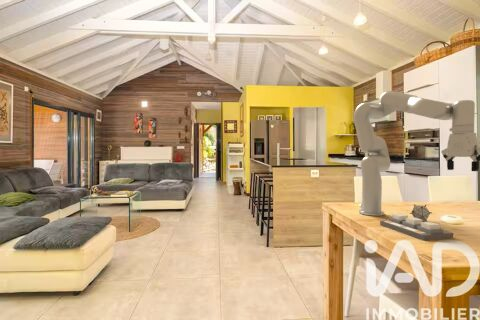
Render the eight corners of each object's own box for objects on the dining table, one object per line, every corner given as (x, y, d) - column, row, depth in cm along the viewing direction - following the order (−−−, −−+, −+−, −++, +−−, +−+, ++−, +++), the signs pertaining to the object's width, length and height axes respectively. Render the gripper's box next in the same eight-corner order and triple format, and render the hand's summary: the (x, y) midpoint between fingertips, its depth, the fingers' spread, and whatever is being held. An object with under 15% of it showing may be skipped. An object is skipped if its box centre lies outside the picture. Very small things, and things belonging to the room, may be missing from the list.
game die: (422, 228, 144) (433, 211, 145) (426, 225, 136) (438, 208, 137) (404, 217, 148) (414, 201, 148) (407, 214, 140) (418, 197, 141)
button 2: (420, 227, 119) (420, 222, 119) (429, 226, 120) (429, 221, 120) (430, 230, 114) (430, 225, 114) (439, 229, 115) (439, 224, 115)
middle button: (405, 222, 126) (405, 217, 126) (414, 221, 127) (414, 217, 127) (413, 225, 122) (413, 220, 122) (422, 224, 123) (422, 219, 123)
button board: (380, 224, 135) (380, 217, 135) (405, 223, 138) (406, 215, 138) (423, 240, 112) (423, 231, 112) (453, 238, 115) (453, 229, 115)
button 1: (392, 218, 134) (392, 213, 134) (400, 217, 135) (400, 213, 135) (399, 220, 130) (399, 216, 130) (407, 220, 131) (407, 215, 131)
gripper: (436, 131, 131) (436, 169, 132) (480, 128, 115) (479, 172, 115) (448, 131, 134) (447, 169, 134) (492, 128, 118) (491, 171, 118)
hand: (462, 170), depth 125 cm, fingers open, 9 cm apart
